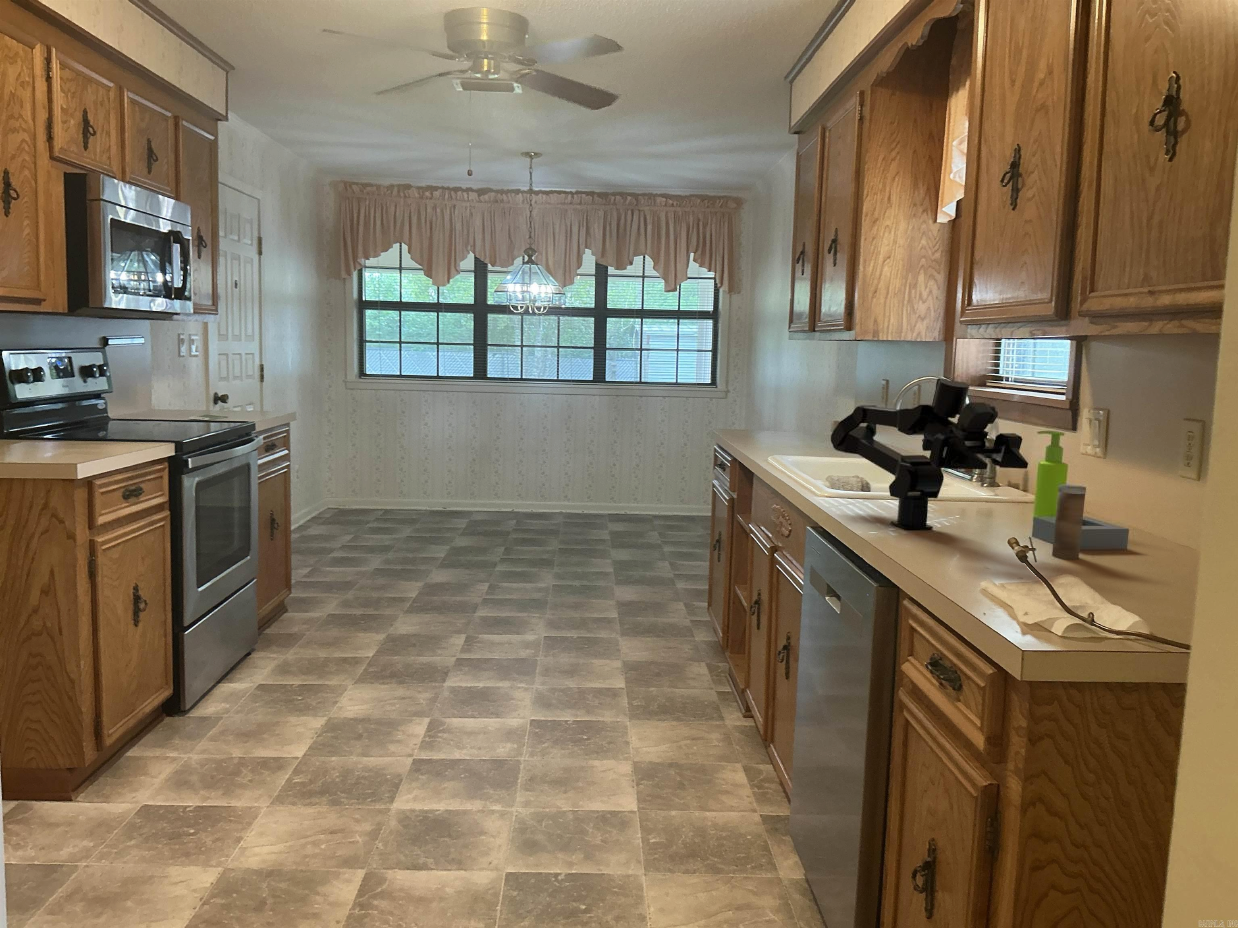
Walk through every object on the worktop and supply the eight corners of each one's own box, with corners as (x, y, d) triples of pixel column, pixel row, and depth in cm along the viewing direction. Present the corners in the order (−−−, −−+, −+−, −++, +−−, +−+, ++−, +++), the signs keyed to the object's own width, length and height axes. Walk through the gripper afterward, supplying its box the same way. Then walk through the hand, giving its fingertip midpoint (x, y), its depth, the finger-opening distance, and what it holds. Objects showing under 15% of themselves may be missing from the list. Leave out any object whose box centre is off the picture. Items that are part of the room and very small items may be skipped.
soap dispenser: (1038, 518, 207) (1047, 429, 204) (1067, 523, 201) (1077, 432, 199) (1022, 520, 204) (1031, 429, 201) (1051, 526, 198) (1061, 433, 196)
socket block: (1031, 536, 187) (1033, 516, 186) (1084, 535, 189) (1086, 516, 188) (1071, 549, 175) (1073, 529, 174) (1126, 549, 177) (1129, 528, 177)
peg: (1046, 553, 171) (1053, 484, 169) (1068, 553, 172) (1075, 484, 170) (1062, 559, 167) (1069, 488, 165) (1084, 559, 167) (1091, 488, 166)
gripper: (921, 397, 174) (976, 423, 161) (1000, 398, 181) (1059, 424, 167) (908, 452, 178) (960, 483, 165) (985, 451, 185) (1042, 481, 171)
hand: (1006, 466), depth 167 cm, fingers open, 9 cm apart
